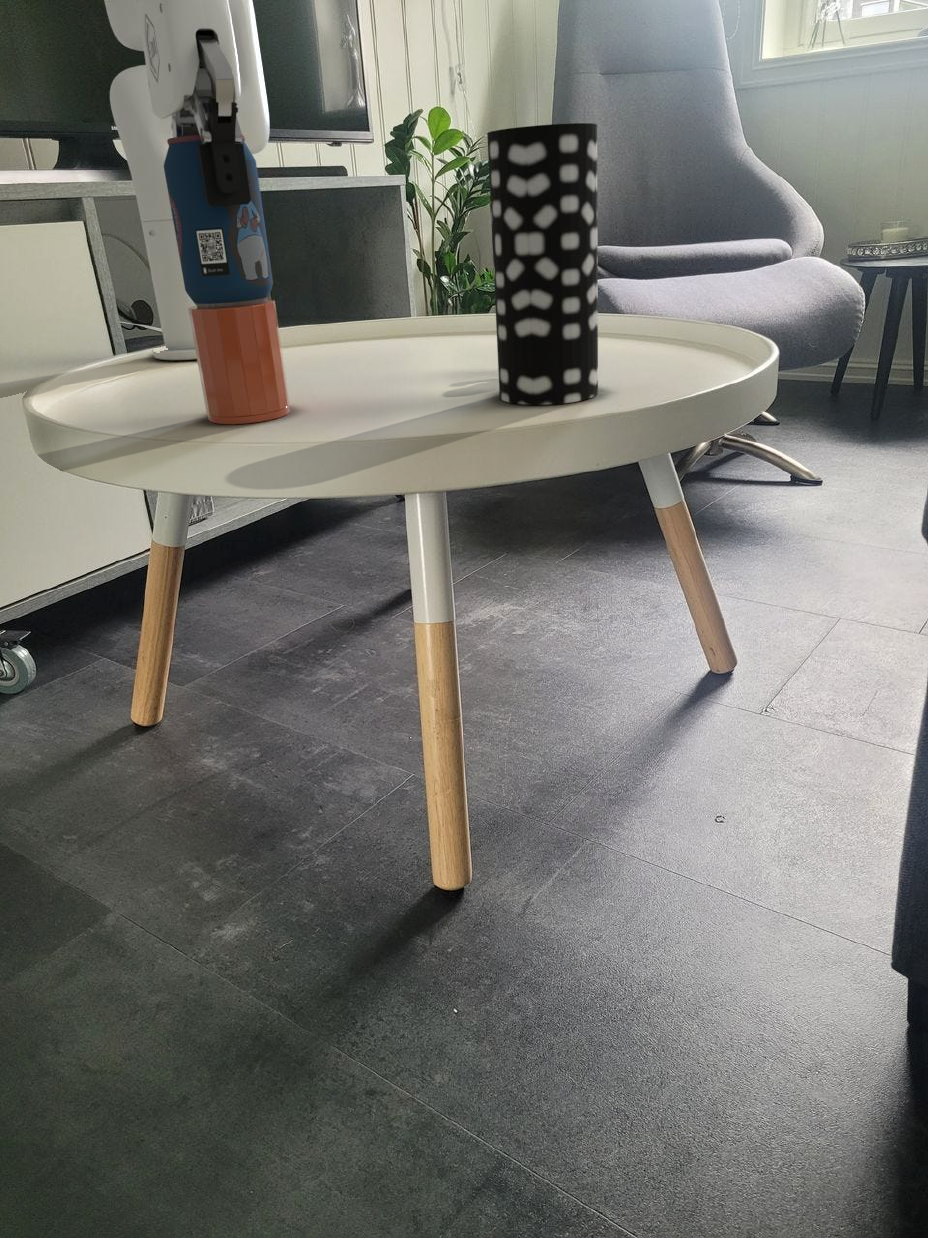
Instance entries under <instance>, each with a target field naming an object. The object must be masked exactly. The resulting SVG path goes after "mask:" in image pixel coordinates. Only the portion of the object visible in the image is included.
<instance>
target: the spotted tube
mask: <svg viewBox="0 0 928 1238" xmlns="http://www.w3.org/2000/svg"><path fill="white" fill-rule="evenodd" d="M486 134H487V135H486V136H487V154H488V155H487V158H488V177H489V193H490V194H489V197H490V220H491V221H490V223H491V241H492V243H491V244H492V265H493V283H494V284H493V285H494V306H495V307H494V308H495V324H496V325H495V327H496V348H497V369H498V391H499V399H500V400H501V401H503V402H506V403H510V404H516V405H523V406H524V405H525V406H550V405H552V406H553V405H563V404H571V403H577V402H582V401H585V400H589V399H592V398H594V397H596V396H597V395H598V394H599V299H598V298H599V294H598V293H599V291H598V290H599V288H598V287H599V283H598V282H599V275H598V273H599V272H598V271H599V269H598V268H599V267H598V266H599V264H598V261H599V260H598V259H599V258H598V253H599V251H598V250H599V249H598V246H599V245H598V241H599V240H598V236H599V235H598V124H597V123H593V122H590V123H589V122H588V123H587V122H582V123H581V122H580V123H579V122H578V123H577V122H576V123H575V122H574V123H571V122H570V123H555V124H554V123H551V124H540V125H538V124H537V125H528V126H517V127H509V128H503V129H502V128H501V129H496V130H492V131H488V132H487V133H486Z"/></svg>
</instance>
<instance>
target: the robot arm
mask: <svg viewBox="0 0 928 1238" xmlns="http://www.w3.org/2000/svg"><path fill="white" fill-rule="evenodd" d="M103 1H104V5H105V11H106V14H107V19H108V21H109V24H110V27H111V30H112V32H113V34H114V36H115V38H116V39H117V41H118V42H119V43H120V44H122V45H123V46H124V47H126V48H129V49H131V50H134V51H139V52H143V54H144V60H145V61H144V62H145V64H142V65H141V64H140V65H136V66H132V67H128V68H126V69H124V70H122V71H120V72H119V73H118V74H117V75H116V76H115V77H114V78H113V80H112V82H111V85H110V89H109V102H110V110H111V113H112V117H113V121H114V124H115V127H116V130H117V133H118V136H119V139H120V143H121V145H122V148H123V152H124V154H125V158H126V161H127V166H128V168H129V172H130V176H131V180H132V184H133V189H134V195H135V198H136V201H137V202H136V203H137V206H138V207H137V208H138V212H139V218H140V223H141V228H142V232H143V239H144V243H145V248H146V249H145V250H146V255H147V258H148V264H149V270H150V275H151V280H152V285H153V292H154V295H155V301H156V307H157V312H158V317H159V323H160V328H161V332H162V338H163V344H160V345H157V346H154V347H153V348H158V347H161V346H166V348H168V350H164V351H160V353H156V352H153V351H152V354H153V358H154V359H158V360H162V361H190V360H197V356H196V350H195V345H194V339H193V333H192V328H191V322H190V317H189V311H188V308H190V307H192V306H196V305H195V303H194V302H193V301H192V299H191V298H190V297H189V295H188V294H187V292H186V291H185V286H184V280H183V274H182V269H181V263H180V257H179V252H178V246H177V240H176V234H175V229H174V223H173V217H172V212H171V206H170V200H169V194H168V189H167V183H166V177H165V171H164V162H165V158H166V155H167V151H168V148H169V145H168V142H167V140H168V139H170V138H174V137H182V136H192V135H200V138H201V141H202V143H203V145H198V152H199V159H200V165H201V171H202V177H203V183H204V189H205V196H206V201H207V204H208V205H209V206H228V205H244V204H249V203H250V201H251V195H250V188H249V181H248V174H247V167H246V160H245V154H244V147H243V144H235V143H242V135H244V137H245V141H244V142H245V144H246V145H247V147H248V149H249V150H250V152H251V153H252V155H255V154H256V155H257V154H259V153H260V152H262V151H263V150H264V149H265V148H266V147H267V145H268V143H269V139H270V133H271V132H270V131H271V130H270V123H271V121H270V112H269V104H268V97H267V89H266V83H265V76H264V70H263V69H264V68H263V61H262V55H261V48H260V42H259V41H260V40H259V33H258V27H257V21H256V12H255V8H254V2H253V0H103ZM206 144H208V145H206Z"/></svg>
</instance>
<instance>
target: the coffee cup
mask: <svg viewBox="0 0 928 1238" xmlns="http://www.w3.org/2000/svg"><path fill="white" fill-rule="evenodd" d="M188 311H189V317H190V322H191V328H192V333H193V339H194V345H195V350H196V356H197V359H196V361H197V366H198V372H199V373H198V374H199V377H200V384H201V390H202V395H203V400H204V407H205V413H207V419H208V421H209V422H210V423H212V424H219V425H245V424H255V423H262V422H266V421H272V420H276V419H279V418H282V417H285V416H287V415H288V414H290V400H289V392H288V386H287V377H286V371H285V364H284V357H283V349H282V342H281V335H280V328H279V321H278V320H279V319H278V314H277V307H276V301H275V300H273V299H267V301H266V302H264V303H259V304H253V305H245V306H236V307H223V308H198V307H197V306H192V307H190V308H188Z"/></svg>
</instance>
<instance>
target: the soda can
mask: <svg viewBox="0 0 928 1238" xmlns="http://www.w3.org/2000/svg"><path fill="white" fill-rule="evenodd" d="M244 141H245V137H244V135H242V143H235V144H243V147H244V154H245V160H246V167H247V174H248V181H249V188H250V195H251V201H250V203H249V204H244V205H228V206H209V205H208V204H207V201H206V196H205V189H204V183H203V177H202V171H201V165H200V159H199V152H198V145H203V143H202V141H201V138H200V135H192V136H182V137H174V138H170V139H168V140H167V142H168V145H169V148H168V151H167V155H166V158H165V162H164V171H165V177H166V183H167V189H168V194H169V200H170V206H171V212H172V217H173V223H174V229H175V234H176V240H177V246H178V252H179V257H180V263H181V269H182V274H183V280H184V286H185V291H186V292H187V294H188V295H189V297H190V298H191V299H192V301H193V302H194V303H195V305H196V306H197V307H198V308H223V307H236V306H245V305H253V304H259V303H264V302H266V301H267V300H269V296H270V294H271V291H272V289H273V286H274V285H273V284H274V280H273V274H272V272H273V271H272V266H271V257H270V250H269V243H268V237H267V236H268V235H267V230H266V223H265V217H264V209H263V203H262V194H261V188H260V181H259V180H260V179H259V174H258V167H257V161H256V159H255V157H254V156H253V155H254V154H252V153H251V152H250V150H249V149H248V147H247V145H246V144H245V142H244ZM206 145H208V144H206Z"/></svg>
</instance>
